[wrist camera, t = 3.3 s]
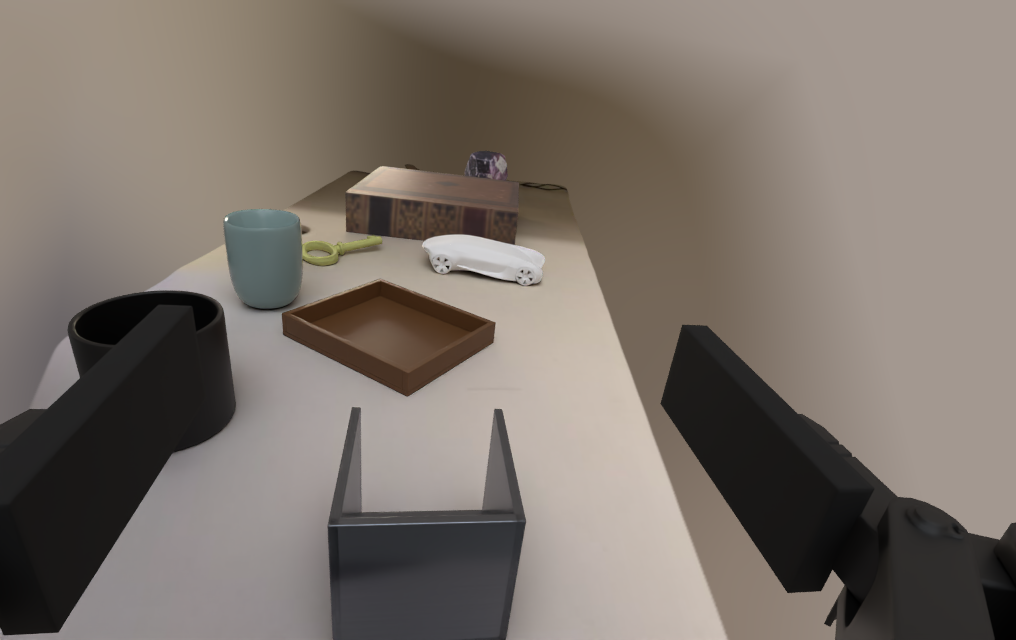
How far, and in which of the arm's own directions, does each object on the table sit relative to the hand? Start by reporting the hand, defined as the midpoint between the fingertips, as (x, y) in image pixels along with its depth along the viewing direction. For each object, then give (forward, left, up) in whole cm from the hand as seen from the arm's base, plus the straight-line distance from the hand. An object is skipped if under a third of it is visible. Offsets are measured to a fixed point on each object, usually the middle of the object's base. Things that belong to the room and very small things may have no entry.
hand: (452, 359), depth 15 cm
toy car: (-33, +53, -21) cm, 66 cm away
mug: (-30, +6, -21) cm, 37 cm away
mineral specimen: (-62, +96, -21) cm, 116 cm away
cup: (-44, +25, -21) cm, 55 cm away
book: (-53, +68, -21) cm, 89 cm away
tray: (-28, +28, -21) cm, 45 cm away
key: (-51, +42, -21) cm, 70 cm away
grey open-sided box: (-6, +7, -21) cm, 23 cm away
